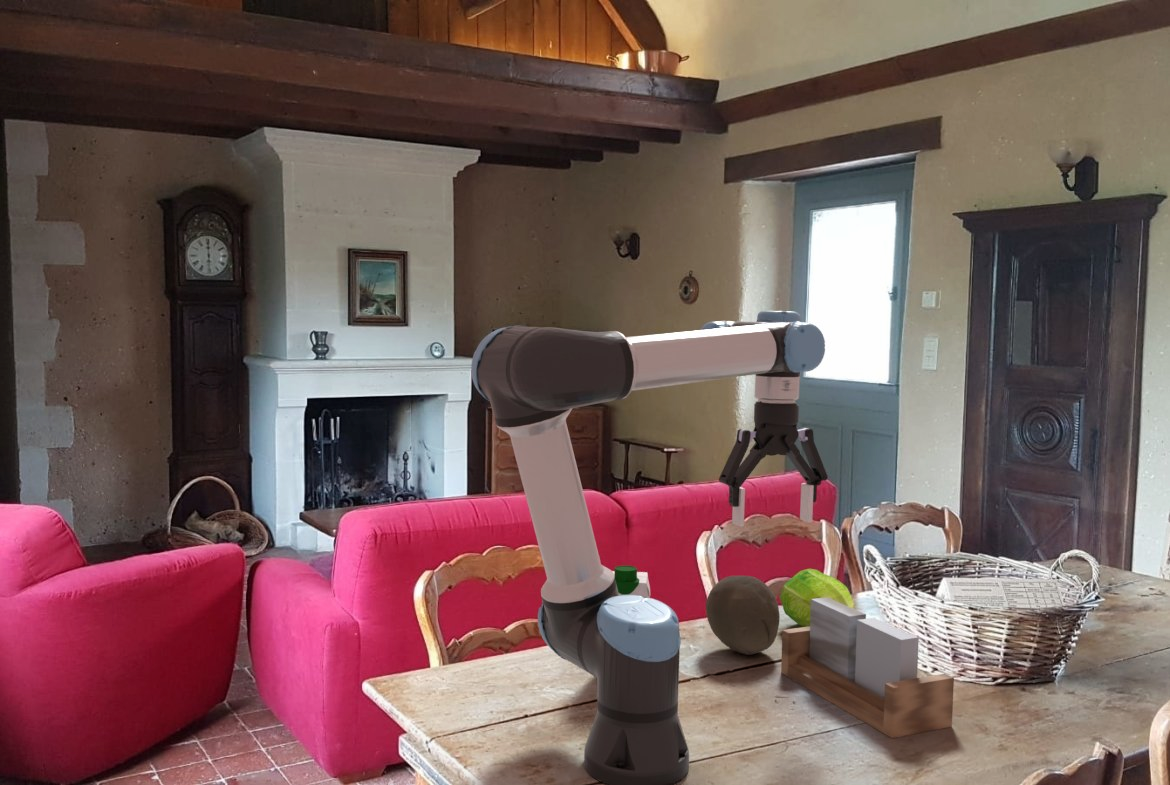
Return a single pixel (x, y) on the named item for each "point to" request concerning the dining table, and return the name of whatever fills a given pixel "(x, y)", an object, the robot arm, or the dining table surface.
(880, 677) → the gray angular faceted block
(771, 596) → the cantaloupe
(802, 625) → the lettuce
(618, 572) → the milk carton
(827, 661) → the wooden slotted stand
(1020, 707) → the dining table surface
